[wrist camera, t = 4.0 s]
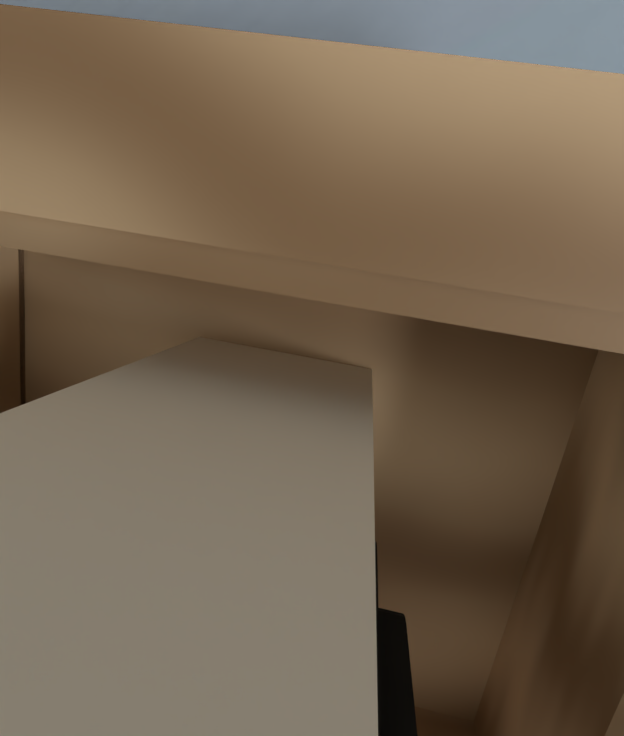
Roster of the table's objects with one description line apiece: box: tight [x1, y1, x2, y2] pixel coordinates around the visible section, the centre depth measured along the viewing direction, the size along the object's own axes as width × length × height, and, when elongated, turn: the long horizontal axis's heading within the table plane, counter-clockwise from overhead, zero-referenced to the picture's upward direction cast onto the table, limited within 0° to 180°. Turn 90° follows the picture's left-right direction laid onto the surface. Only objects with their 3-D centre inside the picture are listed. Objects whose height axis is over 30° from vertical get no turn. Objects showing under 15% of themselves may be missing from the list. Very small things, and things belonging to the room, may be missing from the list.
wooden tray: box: [0, 4, 624, 736], centre depth 11 cm, size 20×17×5 cm
